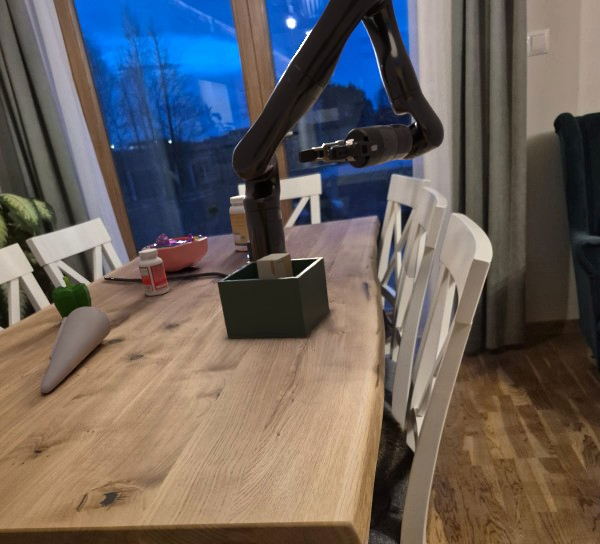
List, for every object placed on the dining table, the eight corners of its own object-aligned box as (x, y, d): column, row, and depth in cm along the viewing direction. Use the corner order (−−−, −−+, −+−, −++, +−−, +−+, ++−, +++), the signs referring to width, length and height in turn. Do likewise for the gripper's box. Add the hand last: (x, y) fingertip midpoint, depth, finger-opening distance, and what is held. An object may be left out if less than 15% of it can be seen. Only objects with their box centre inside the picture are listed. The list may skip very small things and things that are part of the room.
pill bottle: (171, 288, 154) (161, 246, 150) (167, 294, 149) (157, 251, 144) (148, 291, 155) (138, 250, 150) (143, 297, 149) (132, 254, 144)
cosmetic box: (284, 324, 109) (275, 260, 104) (264, 324, 111) (254, 260, 106) (299, 314, 115) (291, 252, 109) (280, 314, 116) (271, 252, 111)
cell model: (222, 265, 175) (215, 226, 171) (160, 280, 166) (151, 240, 161) (198, 259, 188) (191, 224, 184) (140, 273, 179) (131, 236, 174)
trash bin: (227, 338, 109) (217, 281, 104) (258, 312, 122) (250, 261, 118) (305, 337, 104) (298, 277, 99) (329, 310, 117) (323, 257, 112)
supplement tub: (257, 252, 188) (248, 197, 181) (228, 252, 194) (219, 199, 187) (278, 243, 197) (271, 191, 190) (250, 244, 203) (242, 193, 196)
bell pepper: (93, 321, 134) (81, 278, 129) (57, 327, 133) (43, 284, 129) (99, 311, 141) (87, 271, 137) (64, 317, 140) (52, 276, 136)
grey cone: (85, 362, 92) (105, 303, 114) (29, 371, 91) (60, 309, 113) (98, 403, 96) (115, 339, 118) (45, 412, 95) (72, 345, 117)
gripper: (344, 129, 123) (287, 137, 113) (397, 122, 113) (340, 130, 103) (347, 167, 126) (292, 178, 116) (399, 164, 116) (344, 175, 106)
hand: (315, 156), depth 110 cm, fingers open, 8 cm apart
